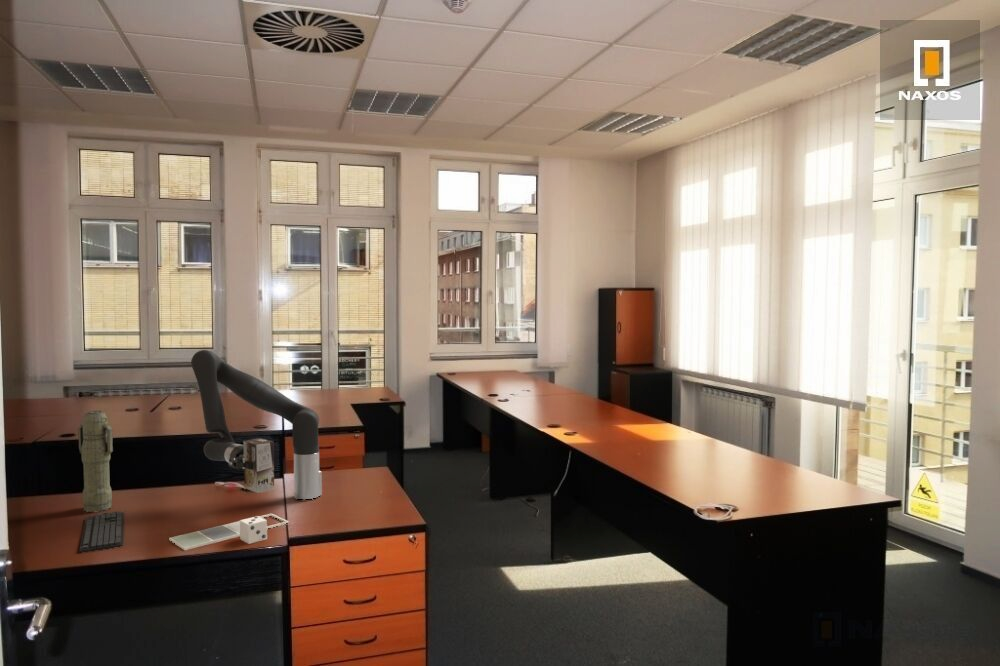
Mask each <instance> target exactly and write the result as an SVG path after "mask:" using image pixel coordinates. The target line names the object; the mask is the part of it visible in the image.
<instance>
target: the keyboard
mask: <svg viewBox="0 0 1000 666" xmlns="http://www.w3.org/2000/svg"><path fill="white" fill-rule="evenodd" d="M124 515H125V514H124V511H123V512H122V510H119V511H118V510H117V511H112V512H101V513H96V514H95V515H91V516H86V517H85V520H84V523H83V524H84V525H83V529H82V535H81V540H80V546H79V554H83V553H82V552H86V553H89V552H88V551H92V552H96V551H95V550H99V551H104V550H103V549H106V550H110V549H109V548H112V549H115V548H114V547H119V548H121V547H120V546H123V547H124V523H123V521H125V520H124V519H125V518H124V517H125V516H124Z"/></svg>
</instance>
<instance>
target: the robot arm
mask: <svg viewBox="0 0 1000 666" xmlns="http://www.w3.org/2000/svg"><path fill="white" fill-rule="evenodd" d="M190 365H191V368H192V370H193V374H194V376H195V379H196V381H197V385H198V386H197V387H198V389H199V393H200V398H201V399H200V400H201V406H202V412H203V413H202V414H203V420H204V427H205V430H206V433H208V434H209V433H210V434H218V435H219V436H220V438H219V437H218V438H214V439H210V440H208V441H206V443H205V444H204V446H203V453H204V455H205V457H206V458H207V459H208V460H210V461H215V462H216V461H217V462H227V463H228V467H230V468H232V469H236V470H240V469H241V470H244V469H245V468H247V469H249V470H252V469H253V463H251V462H248V461H246V460H245V459H244V444H240V443H236V442H235V440H234V438H233V436H232V434H231V432H230V430H229V427H228V426H227V420H226V419H227V418H226V415H225V410H224V405H223V401H222V398H221V394H220V391H219V386H218V383H219V384H221V385H223V386H225V387H226V388H228V390H230V391H231V392H232V393H234V394H235V395H236V396H238V398H240V399H241V400H243V401H244V402H247V403H248V404H250V405H252V406H253V407H255V408H257V409H260V410H261V411H265V412H268V413H271V414H275V415H277V416H279V417H281V418H283V419H285V420H286V421H288V422H290V424H292V427H291V428H292V446H293V484H294V485H293V490H294V491H293V494H294V499H295V498H296V499H295V500H297V499H312V500H314V499H313V498H316V497H318V496H320V495H322V496H323V486H322V485H323V483H322V482H323V480H322V478H323V477H322V475H323V474H322V471H321V470H320V443H319V424H320V417H319V414H318V413H317V411H316V410H315V411H314V409H312V408H309V407H307V406H306V405H303V404H300V403H298V402H296V401H294V400H292V399H290V398H289V397H287V396H286V395H284V394H283V393H282V392H280V391H278V390H277V389H276V388H274V387H272V386H271V385H269V384H267V383H266V382H265V381H263V380H261V379H259V378H257V377H255V376H253V375H251V374H249V373H246V372H244V371H241V370H239V369H237V368H235V367H233V366H232V365H230V364H229V363H228V362H226V361H225V360H223V359H222V358H221V357H220V356H218V355H217V354H216V353H215V352H213V351H211V350H206V349H202V350H201V349H200V350H199V351H196V352H195V353H194V354H193V356H192V358H191V361H190ZM320 497H321V496H320ZM318 498H319V497H318ZM316 499H317V498H316Z"/></svg>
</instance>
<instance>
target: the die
mask: <svg viewBox="0 0 1000 666" xmlns="http://www.w3.org/2000/svg"><path fill="white" fill-rule="evenodd" d="M239 521H240V536H239V540H241V541H242V542H244V543H246V544H248V545H250V544H254V543H258V542H261V541H266V540H268V529H267V526H268V520H267V519H266V518H261V517H259V515H256V516H253V517H248V518H244V519H240V520H239Z"/></svg>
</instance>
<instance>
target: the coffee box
mask: <svg viewBox="0 0 1000 666" xmlns="http://www.w3.org/2000/svg"><path fill="white" fill-rule="evenodd" d="M274 443H275V442H274V441H272V440H269V439H265V438H261V437H259V438H258V437H257V438H253V439H249V440H248V439H247V440H243V445H244V459H245V460H246V461H248V462H251V463H253V469H252V470H249V469H247V468H245V469H243V471H244V472H243V473H244V476H243V477H244V478H243V479H244V489H246V490H248V491H250V492H253V493H256V494H260V493H264V492H269V491H274V490H275V460H274V459H275V454H274V453H275V452H274V451H275V450H274V447H275V445H274Z"/></svg>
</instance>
